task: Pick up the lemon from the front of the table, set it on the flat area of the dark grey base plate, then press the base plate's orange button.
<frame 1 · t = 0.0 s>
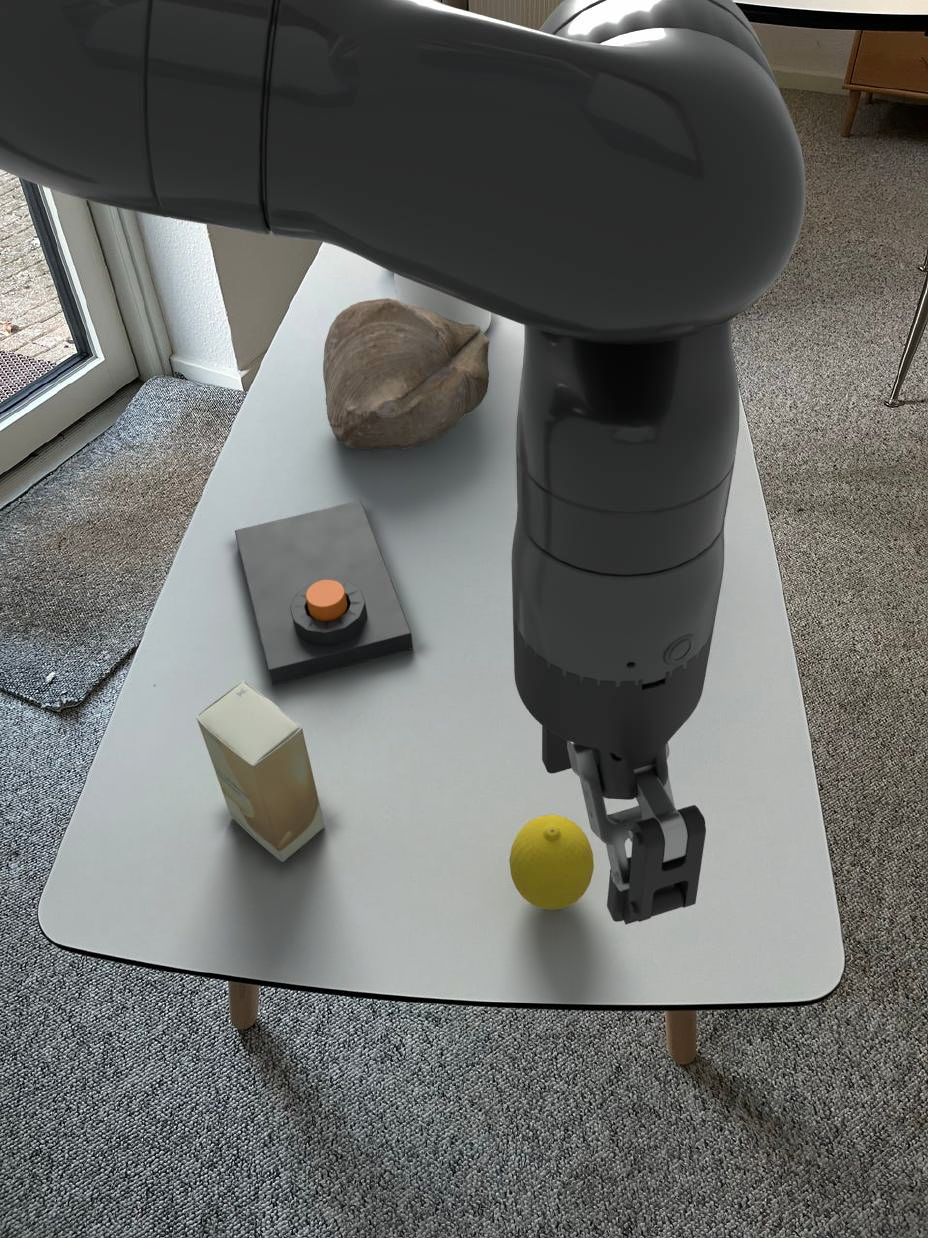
hand: (596, 833, 51), 22 cm above the table, tool pointing down, fingers open, 8 cm apart
tall pillar cylinder: (445, 322, 125), on the table
cosmetic box: (279, 823, 79), on the table
scale button: (326, 600, 88), point 4 cm above the table, slide at 0.2 cm
lemon: (551, 894, 74), on the table
camera: (587, 442, 108), on the table
dark grey base plate: (321, 594, 95), on the table
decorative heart: (583, 322, 123), on the table
teapot: (428, 263, 134), on the table
seashell: (408, 421, 112), on the table
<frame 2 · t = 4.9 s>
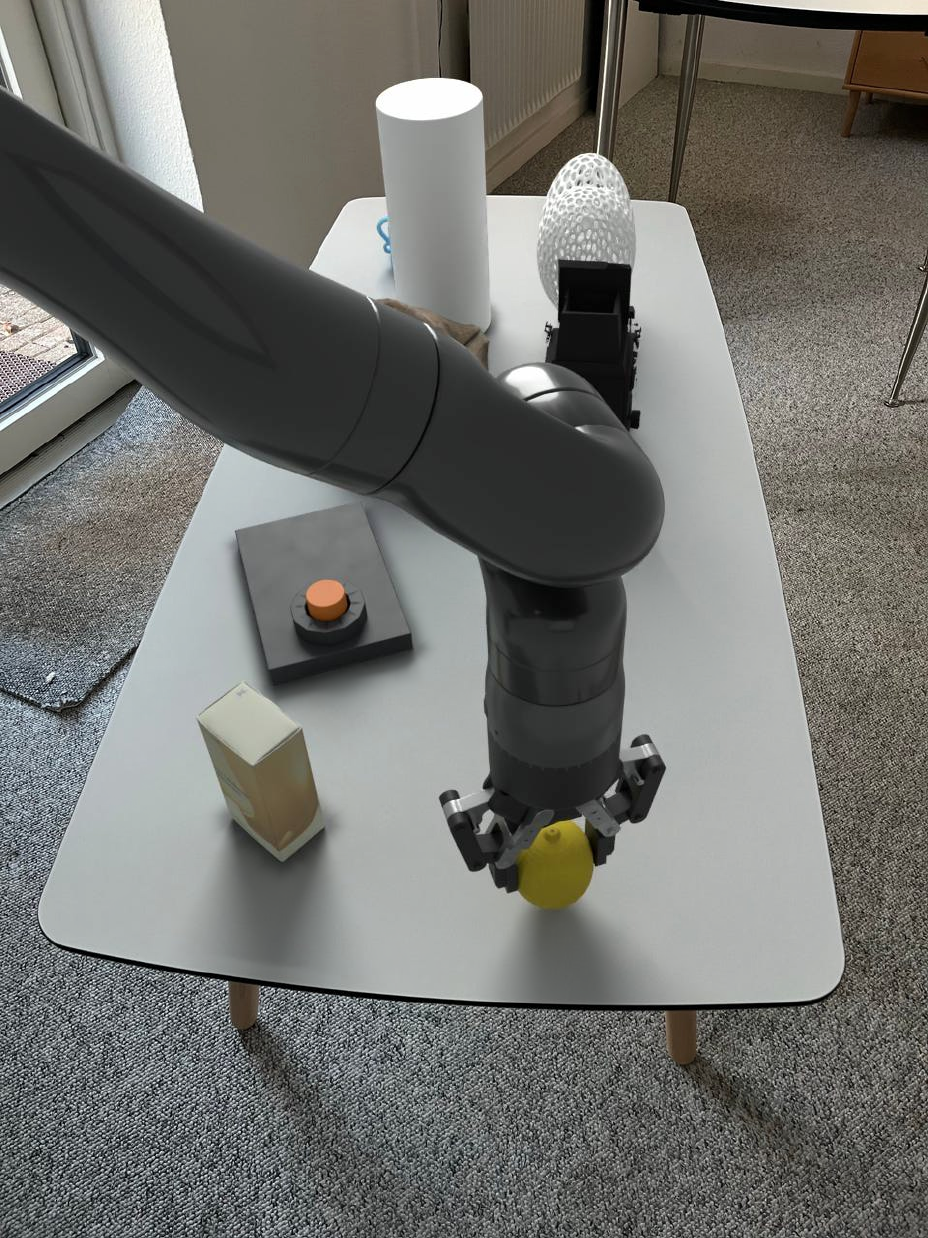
hand: (551, 866, 71), 4 cm above the table, tool pointing down, fingers closed on lemon, 5 cm apart
lemon: (551, 894, 74), on the table, touching gripper
everything else where it was.
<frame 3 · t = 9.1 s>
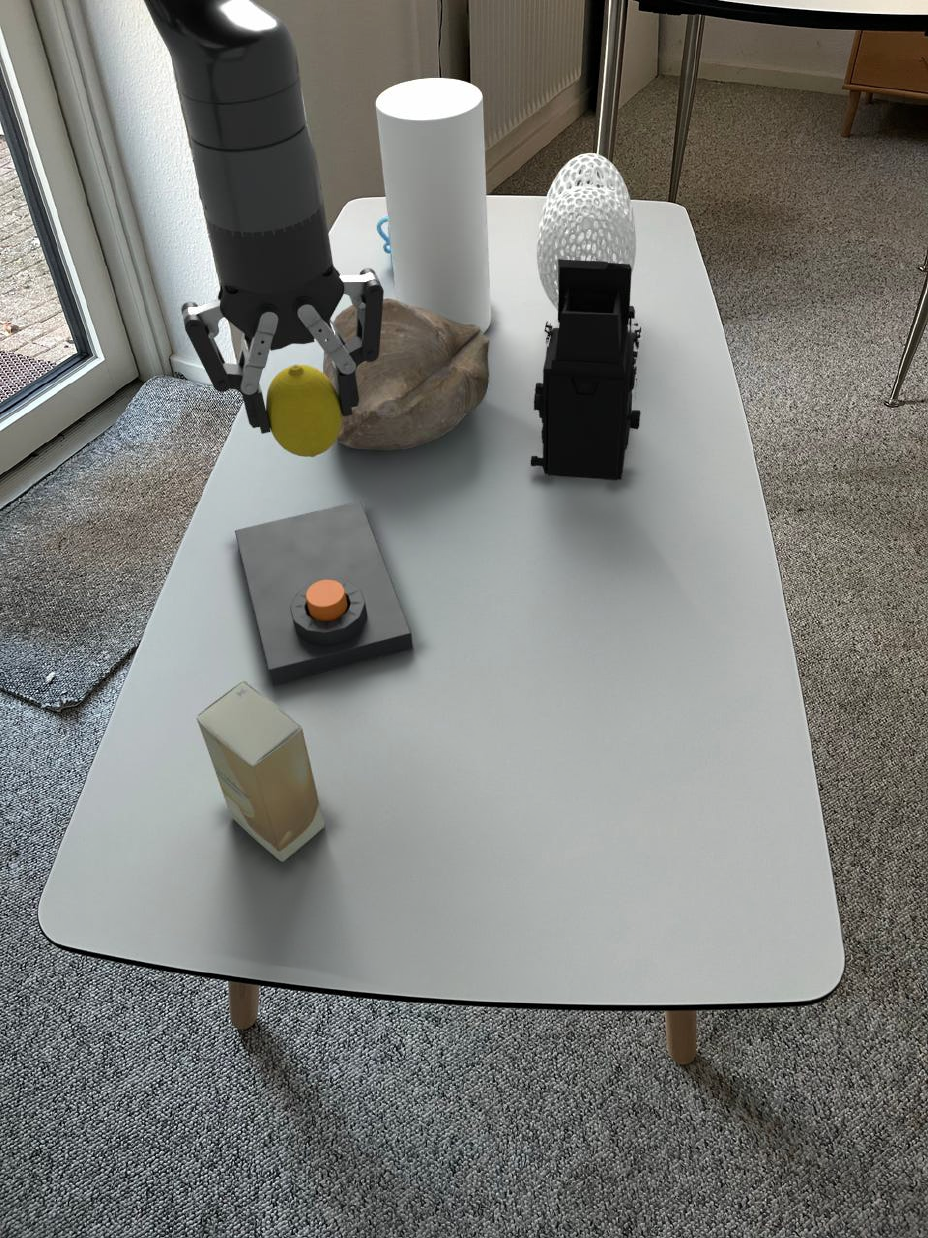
hand: (305, 417, 80), 20 cm above the table, tool pointing down, fingers closed on lemon, 5 cm apart
lemon: (313, 457, 83), point 16 cm above the table, touching gripper
everything else where it was.
when the fingers open (5 cm above the table, at t = 13.3 s): lemon stays where it is, resting on dark grey base plate.
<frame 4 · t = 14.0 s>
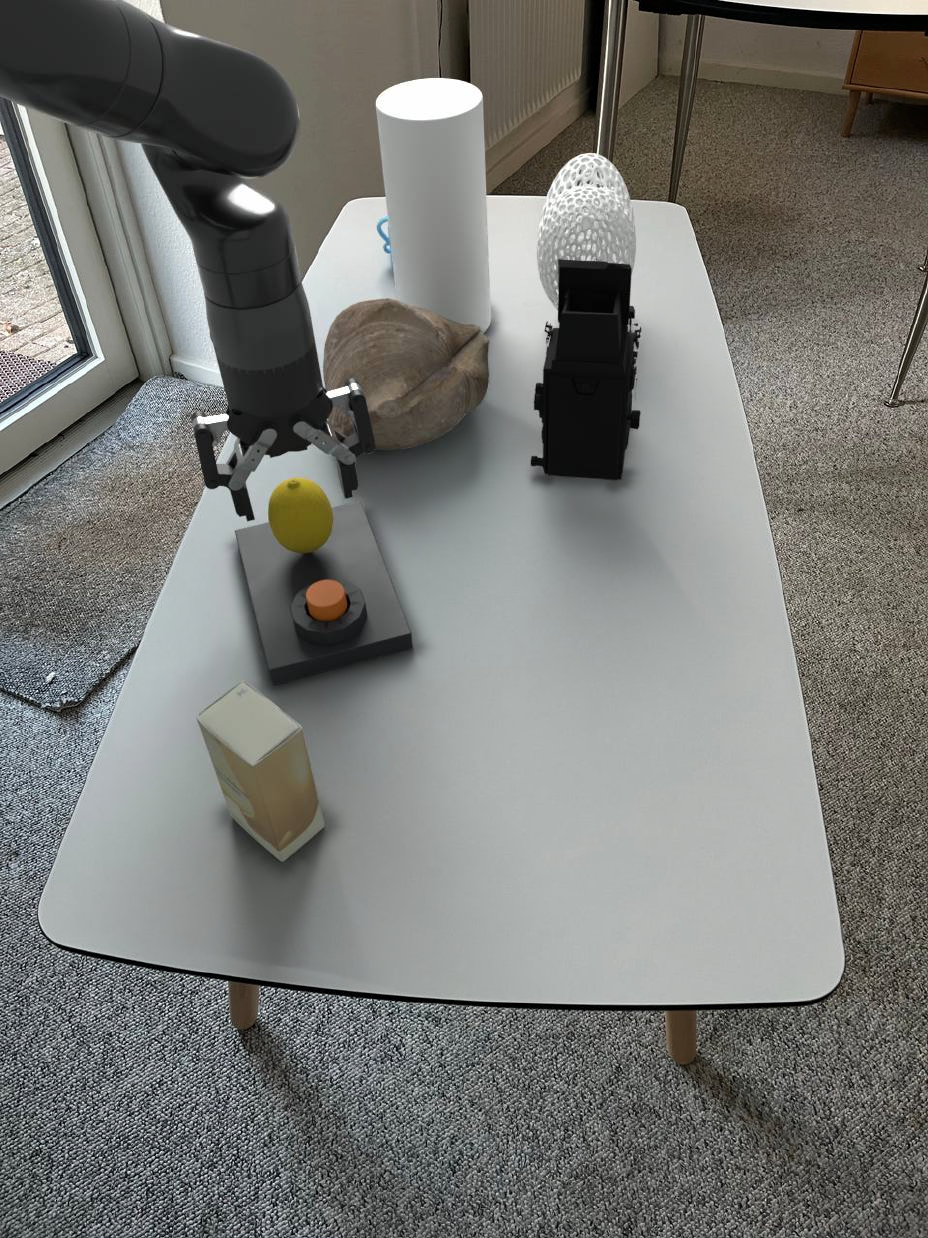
hand: (298, 503, 92), 7 cm above the table, tool pointing down, fingers open, 8 cm apart
lemon: (308, 551, 96), point 2 cm above the table, touching dark grey base plate
everything else where it was.
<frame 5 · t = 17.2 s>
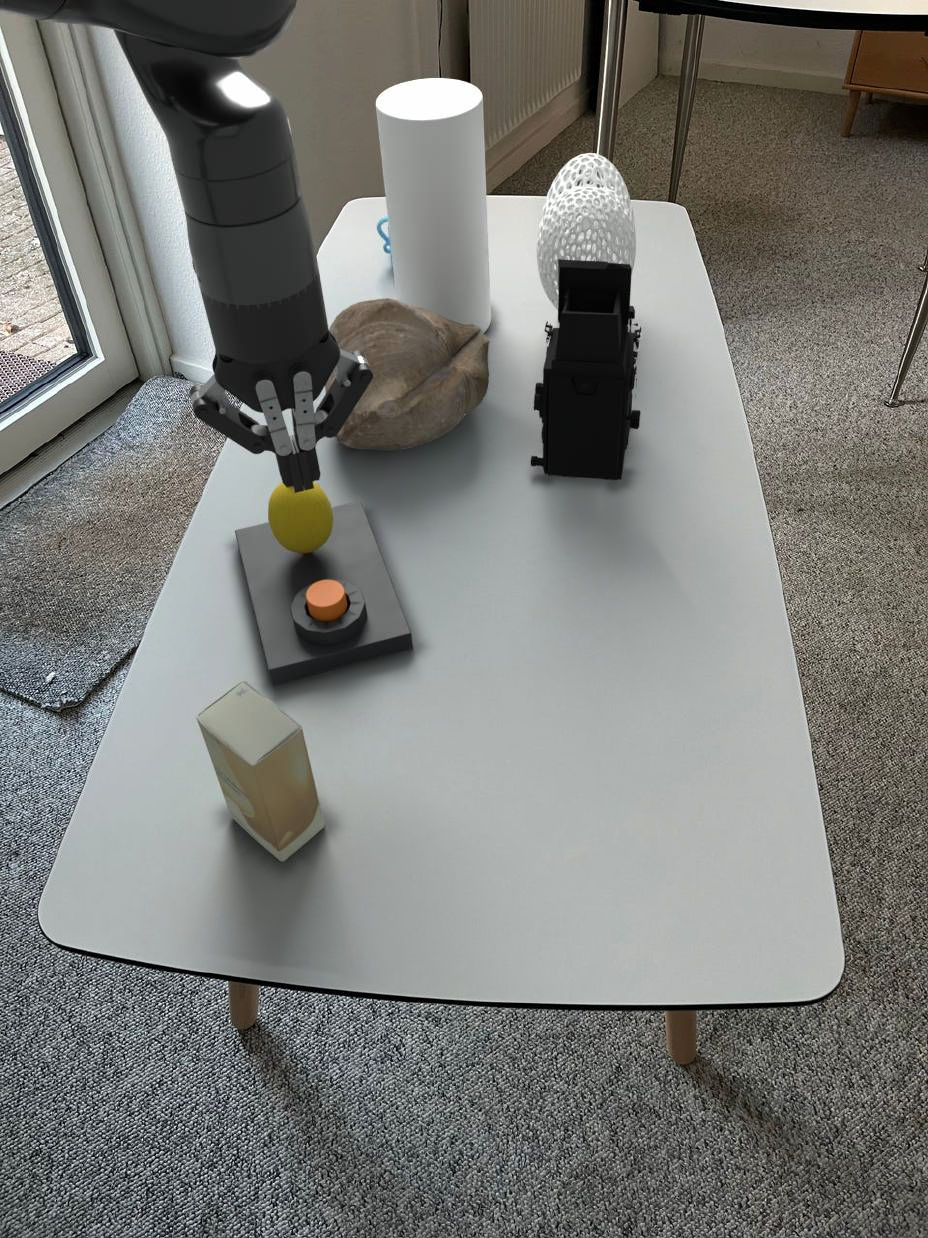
hand: (302, 483, 79), 16 cm above the table, tool pointing down, fingers closed
nothing on the table moved.
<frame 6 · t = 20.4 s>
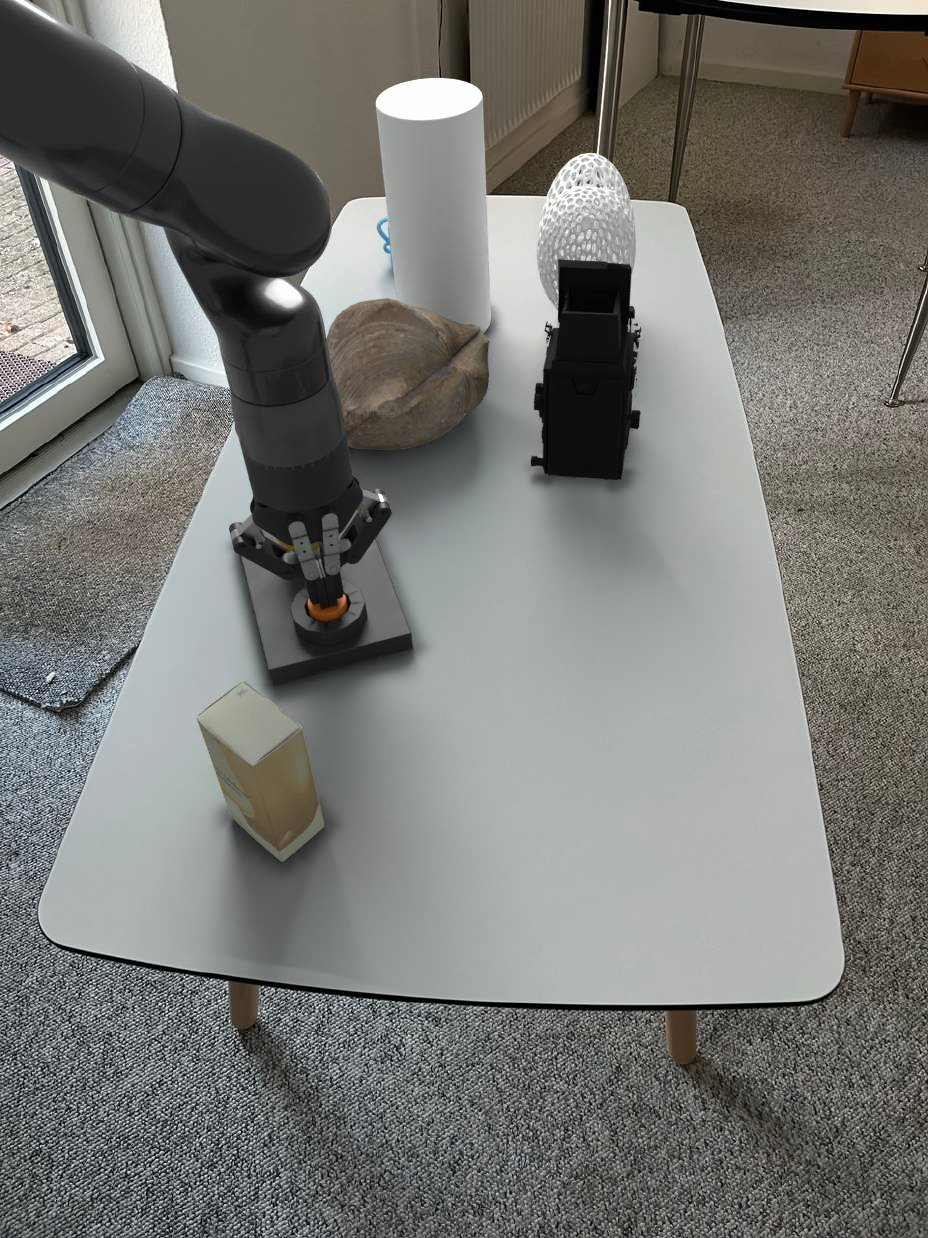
hand: (327, 600, 88), 4 cm above the table, tool pointing down, fingers closed
scale button: (328, 607, 89), point 3 cm above the table, slide at -0.7 cm, touching gripper
everything else where it was.
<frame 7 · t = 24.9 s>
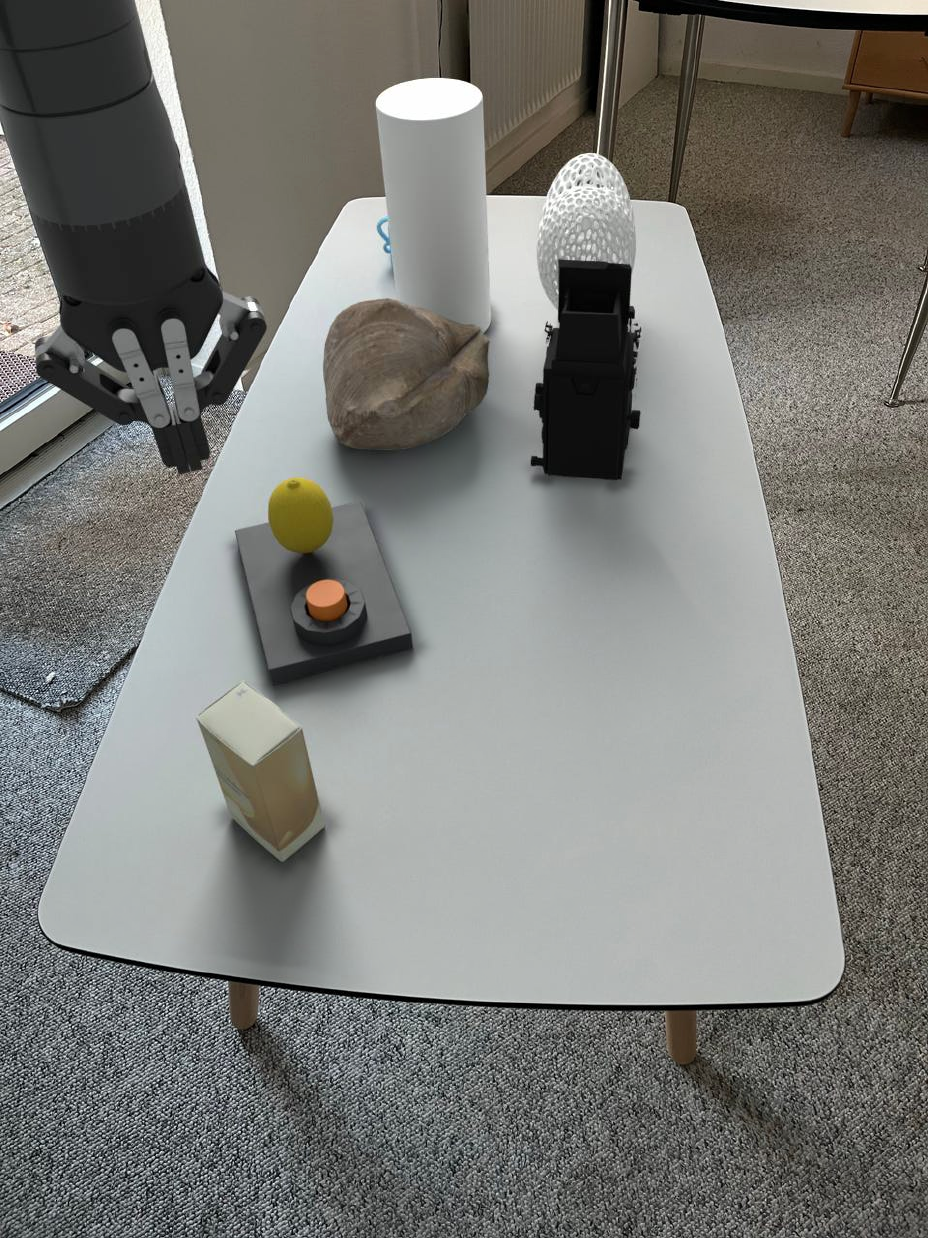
hand: (189, 463, 65), 27 cm above the table, tool pointing down, fingers closed
scale button: (326, 600, 88), point 4 cm above the table, slide at 0.1 cm
everything else where it was.
at the end: lemon inside the target area on the dark grey base plate (0.1 cm from its centre), point 1.7 cm above the dark grey base plate's base; lemon touching dark grey base plate; scale button pushed in 0.9 cm at the most during the clip, back to where it started at the end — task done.
